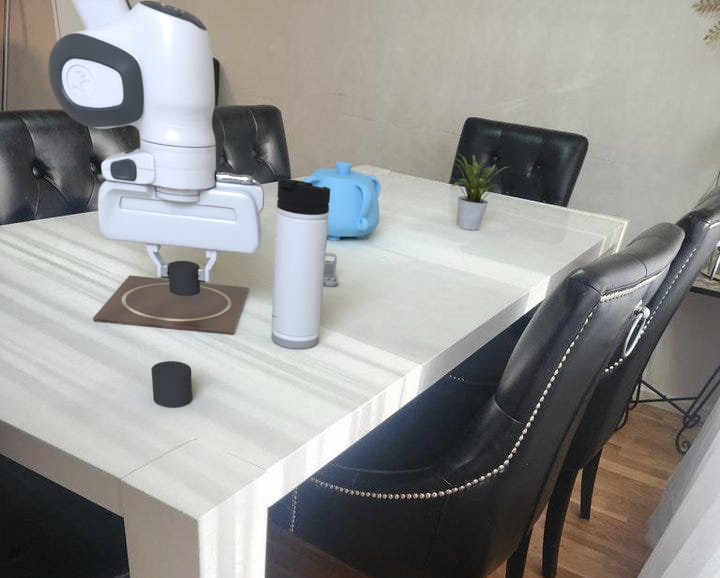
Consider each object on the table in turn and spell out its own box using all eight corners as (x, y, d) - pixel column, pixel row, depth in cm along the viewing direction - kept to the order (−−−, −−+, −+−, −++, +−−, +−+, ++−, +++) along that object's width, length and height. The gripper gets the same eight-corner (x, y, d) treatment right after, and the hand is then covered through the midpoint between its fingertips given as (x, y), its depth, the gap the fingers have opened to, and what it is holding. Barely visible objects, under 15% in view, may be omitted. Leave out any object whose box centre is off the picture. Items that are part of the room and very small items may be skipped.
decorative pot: (363, 250, 127) (373, 175, 120) (287, 234, 130) (291, 160, 122) (383, 233, 141) (393, 164, 133) (314, 219, 143) (319, 151, 136)
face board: (93, 321, 84) (92, 316, 83) (129, 278, 99) (129, 274, 98) (233, 334, 85) (233, 330, 85) (248, 290, 100) (248, 286, 100)
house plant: (421, 220, 154) (433, 144, 145) (458, 217, 163) (472, 145, 154) (466, 236, 146) (481, 157, 137) (503, 231, 154) (520, 156, 145)
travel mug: (259, 339, 85) (264, 175, 74) (291, 327, 90) (300, 171, 79) (297, 354, 83) (307, 186, 71) (327, 341, 87) (342, 181, 76)
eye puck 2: (149, 406, 68) (147, 375, 66) (158, 388, 71) (156, 359, 69) (188, 409, 68) (187, 379, 66) (195, 391, 71) (194, 362, 69)
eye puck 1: (172, 285, 89) (171, 259, 88) (202, 287, 90) (201, 262, 88) (166, 294, 86) (165, 268, 84) (197, 297, 87) (196, 271, 85)
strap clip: (338, 287, 106) (341, 261, 104) (320, 286, 106) (322, 260, 103) (332, 271, 113) (334, 246, 111) (314, 270, 113) (316, 245, 110)
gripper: (266, 172, 83) (263, 279, 91) (102, 153, 81) (114, 264, 89) (262, 181, 78) (259, 294, 85) (86, 162, 76) (100, 279, 84)
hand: (184, 279), depth 87 cm, fingers closed on eye puck 1, 4 cm apart
